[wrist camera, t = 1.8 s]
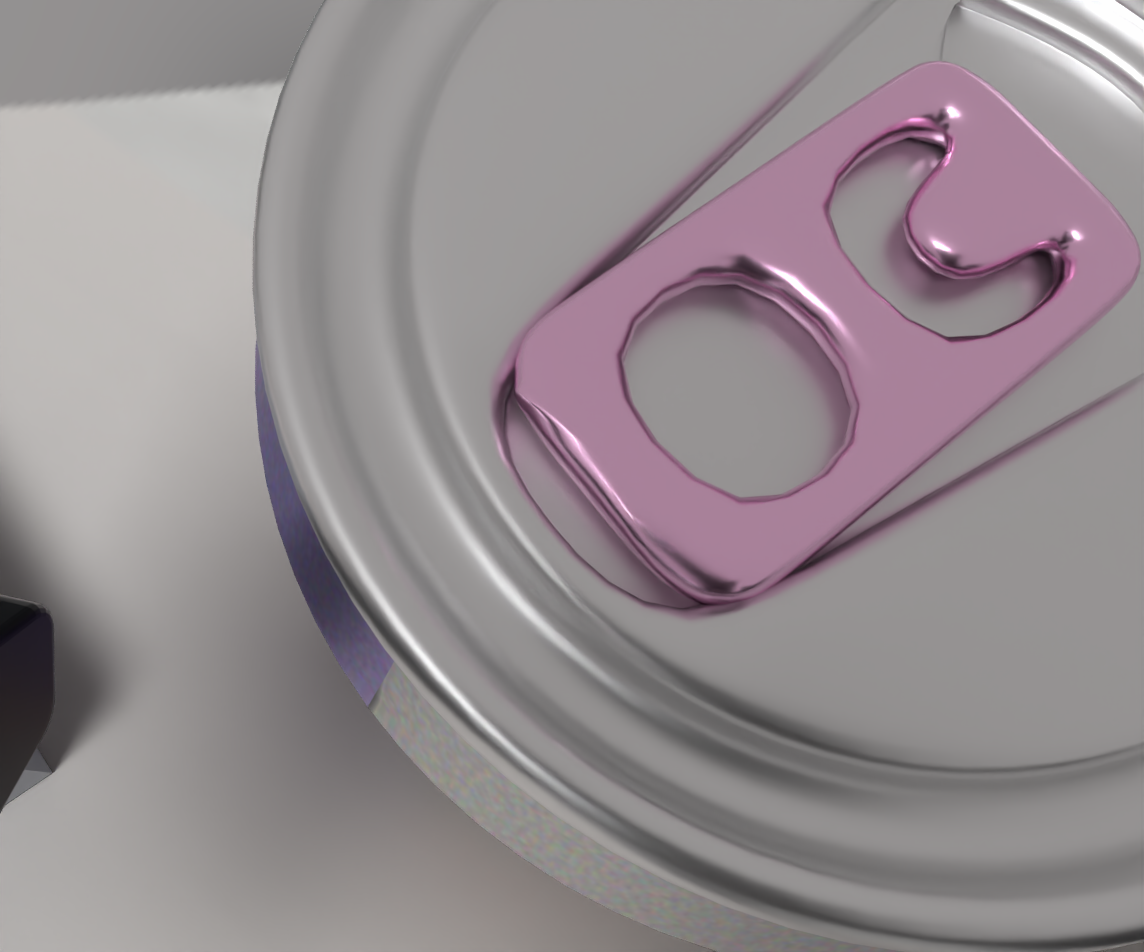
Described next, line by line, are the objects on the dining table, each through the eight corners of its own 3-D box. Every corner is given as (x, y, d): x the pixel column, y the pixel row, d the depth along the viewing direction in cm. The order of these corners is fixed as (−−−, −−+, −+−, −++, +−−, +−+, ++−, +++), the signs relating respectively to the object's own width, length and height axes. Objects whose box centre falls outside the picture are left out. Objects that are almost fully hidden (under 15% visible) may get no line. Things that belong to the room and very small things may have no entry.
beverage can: (345, 648, 18) (-98, 73, 4) (609, 454, 20) (938, -451, 6) (557, 937, 17) (930, 1490, 3) (820, 708, 19) (1883, 367, 5)
